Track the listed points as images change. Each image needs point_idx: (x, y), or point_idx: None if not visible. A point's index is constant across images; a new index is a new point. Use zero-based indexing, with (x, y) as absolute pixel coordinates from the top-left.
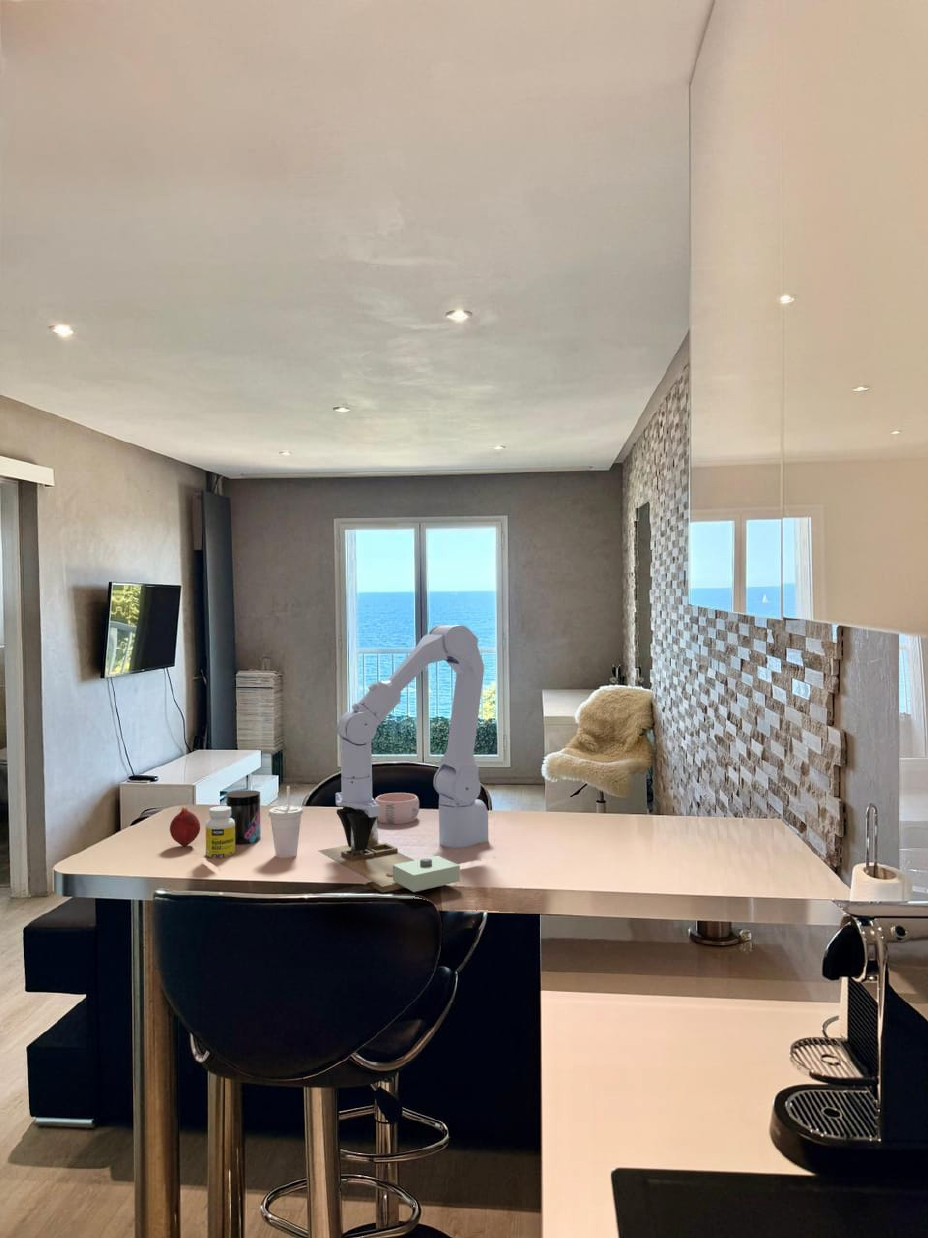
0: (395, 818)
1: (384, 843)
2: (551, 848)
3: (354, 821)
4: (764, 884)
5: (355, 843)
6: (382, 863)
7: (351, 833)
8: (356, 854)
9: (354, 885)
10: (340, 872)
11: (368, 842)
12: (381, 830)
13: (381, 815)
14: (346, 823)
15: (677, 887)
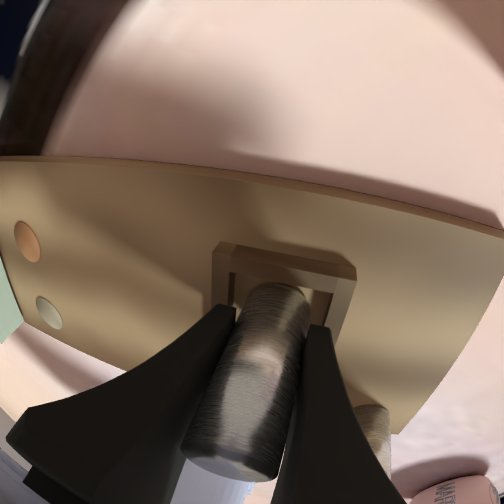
0: (431, 501)
1: None
2: None
3: (36, 407)
4: (9, 409)
5: (198, 325)
6: (127, 301)
7: (251, 385)
8: (249, 299)
9: (44, 114)
10: (194, 141)
11: (364, 416)
12: (458, 465)
13: (467, 495)
14: (299, 451)
15: (2, 390)
